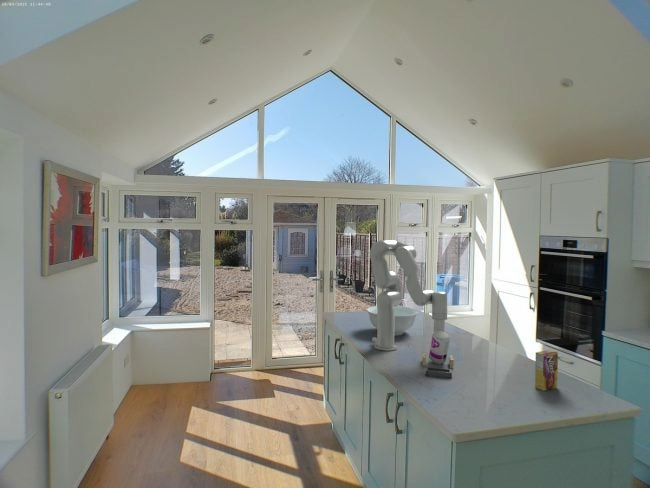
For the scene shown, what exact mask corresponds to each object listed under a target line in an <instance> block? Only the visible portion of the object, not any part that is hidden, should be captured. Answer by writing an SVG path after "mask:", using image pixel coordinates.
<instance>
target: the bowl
mask: <svg viewBox="0 0 650 488" xmlns="http://www.w3.org/2000/svg"><path fill="white" fill-rule="evenodd" d="M393 309H394V314H395V331H394V337H395V336H402V335H403V334H404V333H405V332H406V331H408V330H410V329H411V328H412V327H413V326H414V324H415V320H416V316H417V315H419V312H418V311H417V310H416V309H414V308H410V307H407V306H401V305H400V306H399V305H398V306H395V307H393ZM366 312H367V313H368V317H369V320H370V323H371V324H372V326H373V327H374V328H375V329H377V323H378V311H377V305H373V306H369V307H368V308H366Z"/></svg>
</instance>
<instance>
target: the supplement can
mask: <svg viewBox="0 0 650 488" xmlns="http://www.w3.org/2000/svg"><path fill="white" fill-rule="evenodd" d="M450 339H451V338H450V334H449V333H448V332H447V331H446V330H445V331H443V330H436V331H435V332H434V331H433V334H432V337H431V343H430V347H429V348H430V349H429V356H428V357H429V358H428V359H429V360H430V361H431V362H432V363H434V364H438V365H439V364H440V365H441V364H442V365H443V363H445V362H446V361H447V355H448V350H449V345H450Z"/></svg>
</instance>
